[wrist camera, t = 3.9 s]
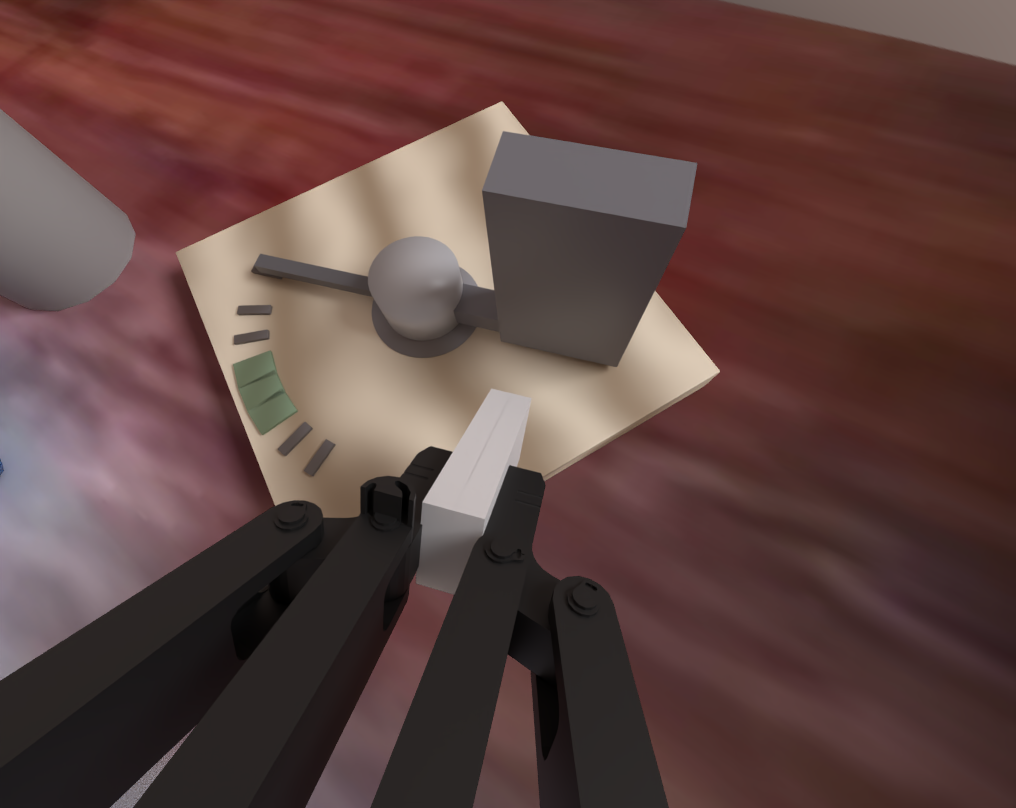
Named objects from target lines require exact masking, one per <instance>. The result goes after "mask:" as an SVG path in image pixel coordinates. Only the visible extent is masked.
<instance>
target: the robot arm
mask: <svg viewBox="0 0 1016 808" xmlns="http://www.w3.org/2000/svg"><path fill="white" fill-rule="evenodd" d="M531 399H532V398H529V397H525V396H521V395H517V394H513V393H508V392H504V391H500V390H496V389H491V390H490V392H489V393H488V395H487V397H486V398H485V400H484V402H483V403H482V405H481V406H480V408H479V410H478V411H477V413H476V415H475V416H474V418H473V420H472V421H471V423H470V425H469V426H468V428H467V430H466V431H465V433H464V434H463V436H462V438H461V439H460V441H459V443H458V444H457V446H456V448H455V449H454V451H453V452H452V451H448V450H444V449H440V448H437V447H433V446H430V447H428V448H426V449H424V450H422V451H421V452H419V453H417V455H416V456H415V458H414V459H413V460H412V462H411V463H410V465H409V466H408V467H407V468H406V470H405V471H404V474H402V475H401V477H394V476H381V477H376V478H373V479H371V480H368V481H367V482H365V483H364V484H363V485H361V486H360V515H359V516H357V517H351V518H325V517H323V514H322V510H321V508H320V507H318V506H317V505H316V504H315V503H312V502H309V501H305V500H293V501H288V502H283V503H281V504H278V505H276V506H274V507H272V508H270V509H269V510H267V511H266V512H264V513H263V514H261V515H259V516H258V517H256V518H255V519H253V520H252V521H250V522H248V523H247V524H245V525H244V526H242V527H241V528H239V529H237V530H236V531H234V532H233V533H231V534H230V535H228V536H226V537H225V538H223V539H222V540H220V541H219V542H217V543H215V544H214V545H212V546H211V547H209V548H208V549H206V550H205V551H203V552H201V553H200V554H198V555H197V556H195V557H194V558H192V559H190V560H189V561H187V562H186V563H184V564H183V565H181V566H179V567H178V568H176V569H175V570H173V571H172V572H170V573H168V574H167V575H165V576H164V577H162V578H161V579H159V580H158V581H156V582H154V583H153V584H151V585H150V586H148V587H147V588H145V589H143V590H142V591H140V592H139V593H137V594H136V595H134V596H132V597H131V598H129V599H128V600H126V601H125V602H123V603H121V604H120V605H118V606H117V607H115V608H114V609H112V610H111V611H109V612H107V613H106V614H104V615H103V616H101V617H100V618H98V619H96V620H95V621H93V622H92V623H90V624H89V625H87V626H85V627H84V628H82V629H81V630H79V631H78V632H76V633H74V634H73V635H71V636H70V637H68V638H67V639H65V640H64V641H62V642H60V643H59V644H57V645H56V646H54V647H53V648H51V649H49V650H48V651H46V652H45V653H43V654H42V655H40V656H38V657H37V658H35V659H34V660H32V661H31V662H29V663H27V664H26V665H24V666H23V667H21V668H20V669H18V670H17V671H15V672H13V673H12V674H10V675H9V676H7V677H6V678H4V679H2V680H1V681H0V808H110V807H111V806H112V805H113V804H114V803H115V802H116V801H117V800H118V799H119V798H120V797H121V796H122V795H123V794H124V793H125V792H126V791H128V790H129V789H130V788H131V787H132V786H133V785H134V784H135V783H136V782H137V781H138V780H139V779H140V778H141V777H142V776H143V775H144V774H145V773H146V772H147V771H149V770H150V769H151V768H152V767H153V766H154V765H155V764H156V763H157V762H158V761H159V760H160V759H161V758H162V757H163V756H164V755H165V754H166V753H167V752H169V751H170V750H171V749H172V748H173V747H174V746H175V745H176V744H177V743H178V742H179V741H180V740H181V739H182V738H183V737H184V736H185V735H186V734H187V733H188V732H190V731H191V730H192V729H193V728H194V727H195V726H196V725H197V726H196V727H195V728H194V729H193V731H192V732H191V733H190V735H189V736H188V737H187V739H186V740H185V741H184V742H183V744H182V745H181V746H180V748H179V749H178V750H177V751H176V753H175V754H174V755H173V757H172V758H171V759H170V761H169V762H168V763H167V764H166V766H165V767H164V768H163V770H162V771H161V772H160V773H159V775H158V776H157V777H156V779H155V780H154V781H153V783H152V784H151V785H150V786H149V788H148V789H147V790H146V792H145V793H144V794H143V796H142V797H141V798H140V799H139V801H138V802H137V803H136V805H135V806H134V807H133V808H305V807H306V805H307V803H308V801H309V799H310V797H311V795H312V793H313V791H314V788H315V786H316V784H317V782H318V780H319V778H320V776H321V774H322V772H323V770H324V768H325V766H326V764H327V762H328V760H329V758H330V756H331V754H332V752H333V750H334V748H335V746H336V744H337V742H338V740H339V738H340V736H341V734H342V732H343V730H344V728H345V726H346V724H347V722H348V720H349V718H350V716H351V714H352V712H353V710H354V708H355V706H356V704H357V702H358V700H359V697H360V695H361V693H362V691H363V689H364V687H365V685H366V683H367V681H368V679H369V677H370V675H371V673H372V671H373V669H374V667H375V665H376V663H377V661H378V659H379V657H380V655H381V653H382V651H383V649H384V647H385V645H386V643H387V641H388V639H389V637H390V635H391V633H392V631H393V629H394V627H395V625H396V623H397V621H398V619H399V617H400V615H401V613H402V611H403V608H404V606H405V604H406V602H407V599H408V595H409V586H410V583H411V581H412V579H413V577H414V575H415V573H416V571H417V575H416V583H417V584H420V585H423V586H427V587H430V588H433V589H437V590H440V591H444V592H447V593H450V594H454V597H453V599H452V602H451V604H450V607H449V610H448V612H447V615H446V617H445V620H444V622H443V625H442V627H441V630H440V632H439V635H438V638H437V640H436V643H435V645H434V648H433V650H432V653H431V655H430V658H429V660H428V663H427V665H426V668H425V671H424V673H423V676H422V678H421V681H420V683H419V686H418V688H417V691H416V693H415V696H414V699H413V701H412V704H411V706H410V709H409V711H408V714H407V716H406V719H405V721H404V724H403V727H402V729H401V732H400V734H399V737H398V739H397V742H396V744H395V747H394V749H393V752H392V755H391V757H390V760H389V762H388V765H387V767H386V770H385V772H384V775H383V777H382V780H381V782H380V785H379V788H378V790H377V793H376V795H375V798H374V800H373V803H372V805H371V808H472V807H473V803H474V799H475V794H476V790H477V786H478V781H479V777H480V772H481V768H482V764H483V759H484V755H485V750H486V746H487V742H488V737H489V733H490V729H491V724H492V720H493V715H494V711H495V707H496V702H497V698H498V694H499V689H500V685H501V680H502V676H503V672H504V667H505V663H506V659H507V654H508V655H510V656H511V657H512V658H514V659H515V660H517V661H518V662H519V663H521V664H522V665H524V666H525V667H526V668H528V669H529V670H531V683H532V697H533V711H534V726H535V740H536V755H537V769H538V784H539V798H540V808H669V807H668V803H667V799H666V796H665V792H664V788H663V785H662V781H661V777H660V773H659V770H658V766H657V762H656V759H655V755H654V751H653V748H652V744H651V740H650V737H649V733H648V729H647V725H646V722H645V718H644V714H643V711H642V707H641V703H640V700H639V696H638V692H637V689H636V685H635V681H634V677H633V674H632V670H631V666H630V663H629V659H628V655H627V652H626V648H625V644H624V641H623V637H622V633H621V629H620V626H619V622H618V618H617V615H616V611H615V607H614V604H613V602H612V600H611V598H610V595H609V594H608V593H607V592H606V590H605V589H604V588H603V587H602V586H601V585H599V584H598V583H596V582H594V581H592V580H591V579H588V578H584V577H580V576H573V577H567V578H565V579H563V580H561V581H560V580H558V579H557V578H555V577H553V576H552V575H550V574H549V573H547V572H546V571H545V570H543V569H542V568H541V567H540V566H539V564H538V563H537V562H536V560H535V558H534V556H533V552H532V543H533V539H534V534H535V530H536V525H537V521H538V516H539V512H540V507H541V503H542V498H543V494H544V490H545V482H544V479H543V477H542V474H541V473H539V472H535V471H531V470H527V469H523V468H519V467H517V465H518V462H519V458H520V453H521V448H522V443H523V438H524V433H525V429H526V424H527V419H528V414H529V409H530V404H531Z"/></svg>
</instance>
